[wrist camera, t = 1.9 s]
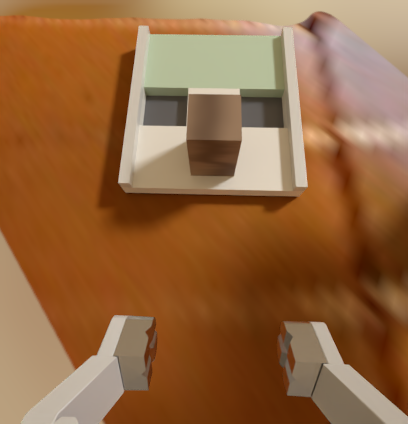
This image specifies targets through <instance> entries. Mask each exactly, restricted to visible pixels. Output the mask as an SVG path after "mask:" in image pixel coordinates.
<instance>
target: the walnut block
mask: <svg viewBox="0 0 408 424" xmlns="http://www.w3.org/2000/svg"><path fill="white" fill-rule="evenodd" d="M186 142H187V150H188V158H189V165H190V173H191V176H234V174H235V169H236V165H237V160H238V156H239V151H240V147H241V142H242V117H241V95H226V94H189V96H188V115H187V133H186Z"/></svg>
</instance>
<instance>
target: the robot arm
mask: <svg viewBox="0 0 408 424" xmlns="http://www.w3.org/2000/svg"><path fill="white" fill-rule="evenodd" d="M155 327H156V319H155V317H141V316H121V315H114V317H113V318H112V319H111V322H110V324H109V327H108V329H107V332H106V334H105V336H104V339H103V341H102V344H101V346H100V349H99V351H98V353H97V356H91V357H90V358H89V359H88V360H87V361H86V362H85V363H83V364H82V365H81V366H80V367H79V368H78V369H77V370H75V371H74V372H73V373H72V374H71V375H70V376H68V377H67V378H66V379H65V380H64V381H63V382H62V383H60V384H59V385H58V386H57V387H56V388H55V389H54V390H52V391H51V392H50V393H49V394H48V395H47V396H46V397H44V398H43V399H42V400H41V401H40V402H39V403H38V404H37V405H35V406H34V407H33V408H32V409H31V410H29V411H28V412H27V413H26V414H25V416H24V418H23V420H22V422H21V424H99V423H100V422H101V420H102V419H103V418H104V417H105V415H106V414H107V413H108V412H109V410H110V409H111V408H112V407H113V405H114V404H115V403H116V401H117V400H118V399H119V398H120V396H121V395H122V394H123V393H124V390H149V386H150V381H151V376H152V362H153V361H154V360H155V356H156V350H157V332H156V331H155ZM280 332H281V334H280V335H279V336H278V338H277V355H278V360H279V364H280V365H281V366H282V367H283V368H284V369H283V374H282V378H283V382H284V386H285V390H286V395H289V396H304V397H312V400H313V401H314V402H315V404H316V405H317V406H318V407H319V409H320V410H321V411H322V413H323V414H324V415H325V416H326V418H327V419H328V420H329V422H330V423H331V424H408V416H406V415H405V414H404V413H403V412H402V411H401V410H400V409H398V408H397V407H396V406H395V405H394V404H393V403H392V402H391V401H389V400H388V399H387V398H386V397H385V396H384V395H383V394H381V393H380V392H379V391H378V390H377V389H376V388H375V387H373V386H372V385H371V384H370V383H369V382H368V381H367V380H366V379H364V378H363V377H362V376H361V375H360V374H359V373H358V372H356V371H355V370H354V369H353V368H352V367H351V366H350V365H346V364H344V363H343V360H342V358H341V356H340V354H339V352H338V350H337V347H336V345H335V343H334V341H333V339H332V337H331V334H330V332H329V330H328V328H327V326H326V324H325V323H324V322H308V321H282V322H281V324H280Z"/></svg>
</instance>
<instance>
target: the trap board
mask: <svg viewBox="0 0 408 424" xmlns="http://www.w3.org/2000/svg"><path fill="white" fill-rule="evenodd" d="M189 94H226V95H241V117H242V142H241V147H240V151H239V156H238V160H237V165H236V169H235V174H234V176H191V173H190V165H189V158H188V150H187V142H186V133H187V115H188V96H189ZM118 184H119V185H120V186H121V187H122V189H123V190H124V191H125V193H161V194H207V195H252V196H298V197H299V196H300V195H301V194H302V193H303V192H304V190H305V189H306V188H307V187H308V185H307V175H306V165H305V154H304V144H303V133H302V123H301V113H300V102H299V92H298V81H297V71H296V60H295V50H294V40H293V29H292V27H283V29H282V33H281V36H245V35H160V34H150V32H149V27H148V26H139V30H138V37H137V45H136V52H135V60H134V67H133V75H132V82H131V90H130V97H129V105H128V112H127V120H126V127H125V135H124V142H123V150H122V157H121V165H120V172H119V179H118Z"/></svg>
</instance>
